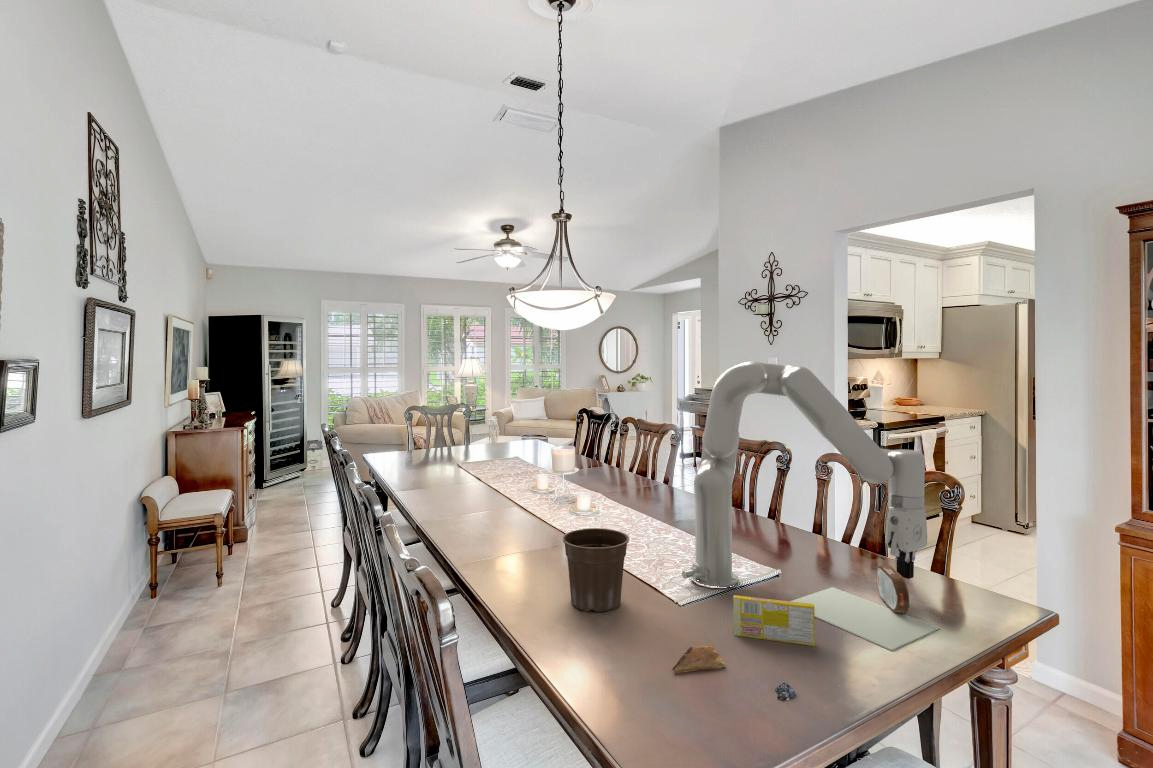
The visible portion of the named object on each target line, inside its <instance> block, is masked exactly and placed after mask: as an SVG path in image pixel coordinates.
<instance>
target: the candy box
mask: <svg viewBox="0 0 1153 768" xmlns="http://www.w3.org/2000/svg"><path fill="white" fill-rule="evenodd" d="M732 600H733V603H732V604H733V605H732V608H733V611H732V613H733V615H732V616H733V620H732V621H733V623H732V625H733V626H732V628H733V629H732V632H733V633H732V634H733V636H738V637H744V638H752V639H758V640H766V641H773V642H774V641H775V642H782V643H786V644H787V643H789V644H794V645H796V644H797V645H801V646H802V645H803V646H809V647H815V646H816V635H815V633H816V632H815V631H816V630H815V618H816V617H815V606H814V604H809V603H800V602H791V601H792V600H790V601H789V600H788V601H787V600H782V599H781V600H779V599H770V598H761V597H755V596H754V597H752V596H745V595H738V594H737V595H735V594H734V595H733V598H732Z"/></svg>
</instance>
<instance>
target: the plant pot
mask: <svg viewBox="0 0 1153 768" xmlns="http://www.w3.org/2000/svg"><path fill="white" fill-rule="evenodd" d="M562 542H563V543H564V551H565V556H566V558H567V569H568V570H567V571H568V581H569V591H570V602H571V604H572V605H573V606H574V607H575V608H576V609H579V610H580V611H581V610H582V611H585V612H589V611H594V612H596V613H603V612H609V611H612V610H614V609H616V608H619V606H620V605H621V600H622V590H623V589H622V588H623V577H624V564H625V557H626V556H627V546H628V543H629V542H630V537H629V535H627V534H626V533H625V532H622V531H619V530H616V529H611V528H610V529H609V528H599V527H596V528H594V527H593V528H591V527H590V528H580V529H574V530H571V531H569V532H567V533H565V534H564V535H563V536H562ZM608 610H609V611H608Z"/></svg>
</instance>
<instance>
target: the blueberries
mask: <svg viewBox="0 0 1153 768" xmlns="http://www.w3.org/2000/svg"><path fill="white" fill-rule="evenodd" d="M778 685H779V686H777V687H776V688H775V690H774V691H775V693H776V694H777V700H778V701H781V702H785V701H789V700H792V699H794V698H795V697H796V692H795V690H794V688H792V687H791V686H790V685H789V683H787V682H782V683H780V684H778ZM764 689H767V687H765V688H764Z"/></svg>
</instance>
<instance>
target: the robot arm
mask: <svg viewBox="0 0 1153 768" xmlns="http://www.w3.org/2000/svg"><path fill="white" fill-rule="evenodd" d="M753 394H764V395H771V396H782V397H787V398H788V400H790V402H791V403H792V404H793V405H794V406H795V407H796V408H797V410H798V411H800V413H801V414H802V415H803V416H804V417H805V418H806V419H807V421H808V422H809V423H810V424H811V425H812V426H813V428H815V430H816V431H817V432H818V433H819V434H820V435H821V436H822V437H823V438H824V439H826V440H827V441H828V442H829V443H830V444H831V445H832V446H833V447H834V448H835V449H836V451H837V452H839V454H840V455H841V456H842V457H843V458H844V459H845V460H846V461H847V462H848V463H849V465H850V466H851V467H852V468H853V469H854V471H856V473H858V475H859V476H860V477H861V478H862V479H863V480H864V481H865V482H867V483H870V484H873V485H874V484H875V485H876V484H877V485H879V484H880V485H881V484H884V483H886V482H887V481H888V488H887V489H888V490H887V492H888V493H887V499H888V501H887V503H888V504H887V506H888V512H887V518H886V531H885V532H886V533H885V535H886V536H885V539H886V540H885V542H886V543H885V544H886V547H888V548H889V549H890V550H889V554H890V556H893V557H895V560H896V571H897V572H898V573H899V574H900V575H901V576H902V577H903V578H904V579H908V580H910V579H912V578H914V577H915V575H914V574H915V572H914V568H915V563H914V562H915V560H916V553H917V551H920V550H921V549H924V548H925V547H926V546H927V545H928V526H927V524H928V523H927V516H926V510H925V481H926V480H925V473H926V468H925V467H926V466H925V465H926V458H925V456H924V454H923V453H922V452H921V451H919V450H914V449H905V448H904V449H903V448H902V449H889V448H880V446H879V445H878V444H877V443H876V442H875V440H874V439H872V437H871V436H870V435H868V433H867V432H866V431H865V430H864V429H863V428H862V427H861V426H860V424H859V422H857V421H856V420H855V418H854V417H853V416H852V414H851V413H850V412H849V411H848V409H846V408H845V406H844V405H843V404H842V403H841V402H840V401H839V400H838V399H837V398H836V397H835V395H834V394H833V393H832V392H831V391H830V390H829V389H828V388H827V386H825V385H824V383H823V382H822V381H821V380H820V379H819V378H818V377H817V376H816V375H815V374H814V373H813V372H812V371H811V370H810V369H809V368H807V367H805V366H801V365H787V364H778V363H777V364H776V363H769V362H761V361H753V360H749V361H744V362H741V363H739V364H735V365H734V366H732V367H730V368H728V369H726V370H725V371H724V372H723V373H722V374H720V375H719V377H718V378H717V380H716V381H715V383H714V385H713V387H712V391H711V393H710V398H709V403H708V409H707V414H706V417H705V418H706V419H705V425H704V430H703V434H702V439H701V440H702V441H701V442H702V450H701V459H700V464H699V465H700V466H699V468H698V469H697V471H696V473H695V476H694V481H693V493H694V511H695V512H694V514H695V515H694V517H695V518H694V519H695V521H694V523H695V524H694V525H695V527H694V528H695V537H694V539H695V544H694V545H695V548H694V549H695V550H694V551H695V562H693V563H692V567H691V568H690V569H686V570H682V572H681V577H682V578H683V579H688V578H689V579H690V577H691V579H693V580H694V581H696V582H698V583H700V584H704V585H709V586H717V587H718V586H719V587H730V586H733V585H735V584H736V583H737V582H739V577H738V575H737V574H736V573H735V572H733V509H732V508H733V498H732V497H733V495H732V494H733V491H732V490H733V482H734V478H735V477H734V476H735V471H736V469H735V468H736V464H737V456H738V450H739V444H740V432H739V428H740V423H741V415H742V412H743V411H742V410H743V405H744V402H745V401H746V400H745V399H747V397H749V396H750V395H753ZM697 580H699V581H697ZM737 584H738V583H737ZM737 584H736V585H737ZM736 585H735V586H736ZM733 587H734V586H733ZM730 588H731V587H730Z"/></svg>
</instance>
